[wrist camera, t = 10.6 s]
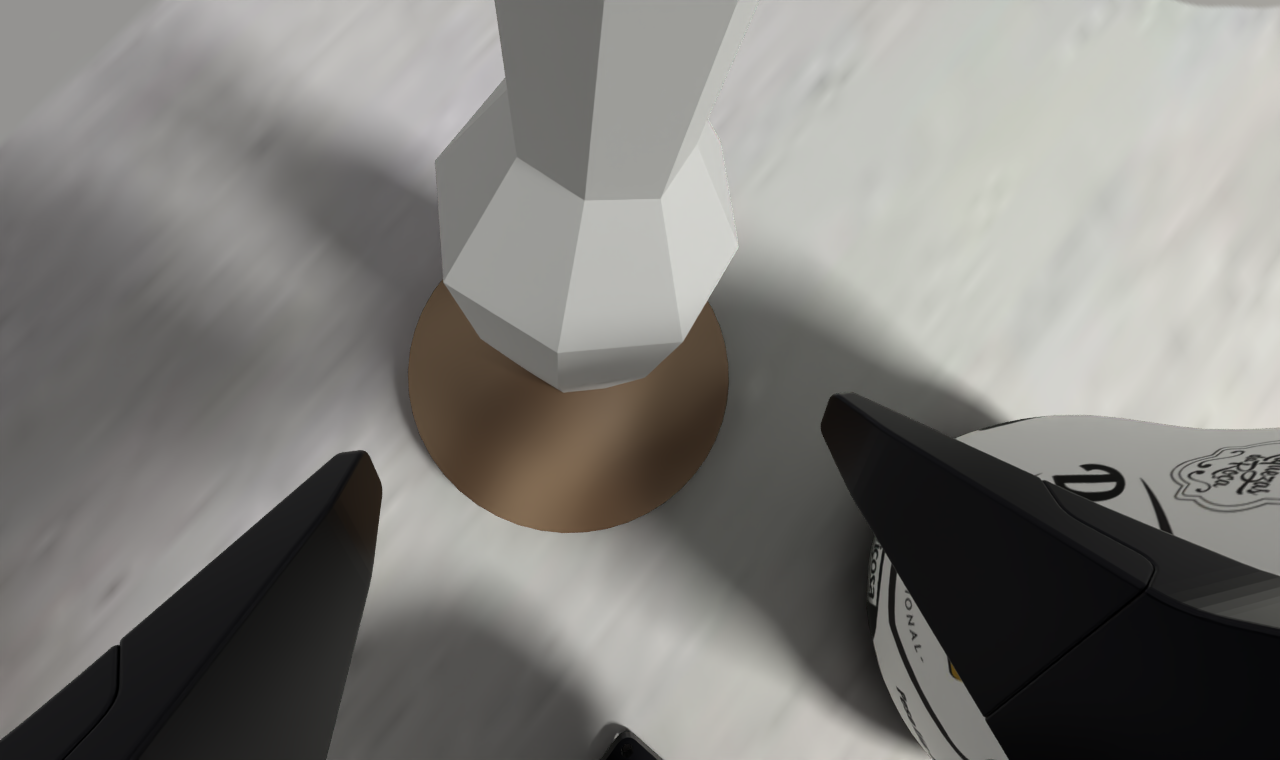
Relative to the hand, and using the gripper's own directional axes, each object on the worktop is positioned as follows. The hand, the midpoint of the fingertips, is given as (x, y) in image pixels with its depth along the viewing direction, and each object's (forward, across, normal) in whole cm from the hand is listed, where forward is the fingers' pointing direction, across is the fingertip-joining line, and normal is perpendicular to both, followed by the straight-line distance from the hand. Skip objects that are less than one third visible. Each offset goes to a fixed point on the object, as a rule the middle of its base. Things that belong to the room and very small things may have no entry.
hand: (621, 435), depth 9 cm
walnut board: (+11, 0, +6) cm, 13 cm away
